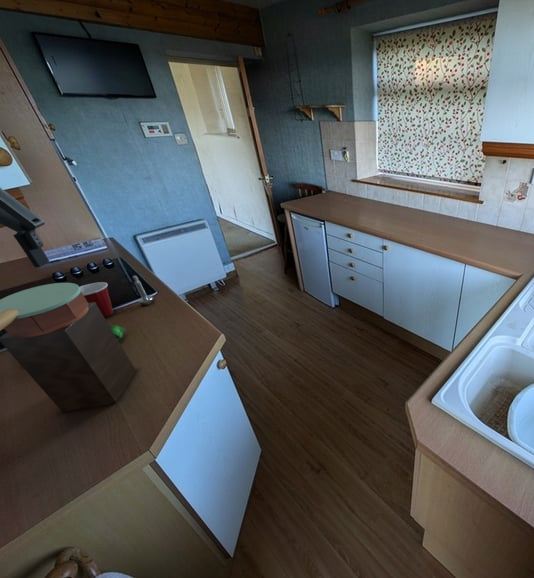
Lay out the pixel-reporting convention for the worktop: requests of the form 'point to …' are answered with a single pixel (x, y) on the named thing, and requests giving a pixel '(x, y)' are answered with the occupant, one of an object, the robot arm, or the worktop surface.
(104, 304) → the plastic cup
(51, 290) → the green flat oval disc
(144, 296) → the screw
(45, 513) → the worktop surface
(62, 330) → the plinth
